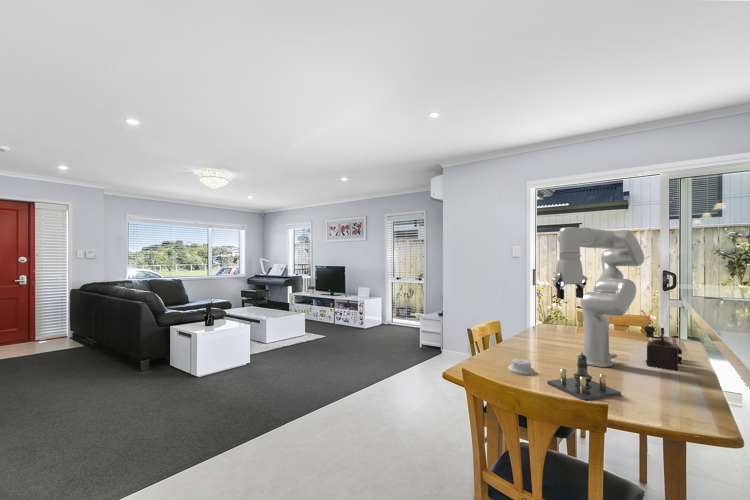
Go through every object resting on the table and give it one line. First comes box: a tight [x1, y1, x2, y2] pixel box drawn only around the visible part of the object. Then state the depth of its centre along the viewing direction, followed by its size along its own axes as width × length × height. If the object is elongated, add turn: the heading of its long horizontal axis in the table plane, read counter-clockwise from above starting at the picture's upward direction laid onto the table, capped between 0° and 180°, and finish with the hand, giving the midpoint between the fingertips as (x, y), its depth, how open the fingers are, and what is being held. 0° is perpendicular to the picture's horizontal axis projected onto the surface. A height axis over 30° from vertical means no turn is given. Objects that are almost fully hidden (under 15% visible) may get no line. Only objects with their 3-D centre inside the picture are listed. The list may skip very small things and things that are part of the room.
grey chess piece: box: [573, 352, 593, 389], centre depth 126 cm, size 6×6×12 cm
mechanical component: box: [507, 358, 535, 376], centre depth 147 cm, size 10×4×10 cm
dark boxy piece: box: [643, 325, 679, 372], centre depth 152 cm, size 16×11×18 cm
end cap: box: [678, 346, 683, 365], centre depth 161 cm, size 10×7×7 cm
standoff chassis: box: [547, 368, 622, 401], centre depth 126 cm, size 16×16×6 cm
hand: (570, 298), depth 146 cm, fingers open, 9 cm apart
